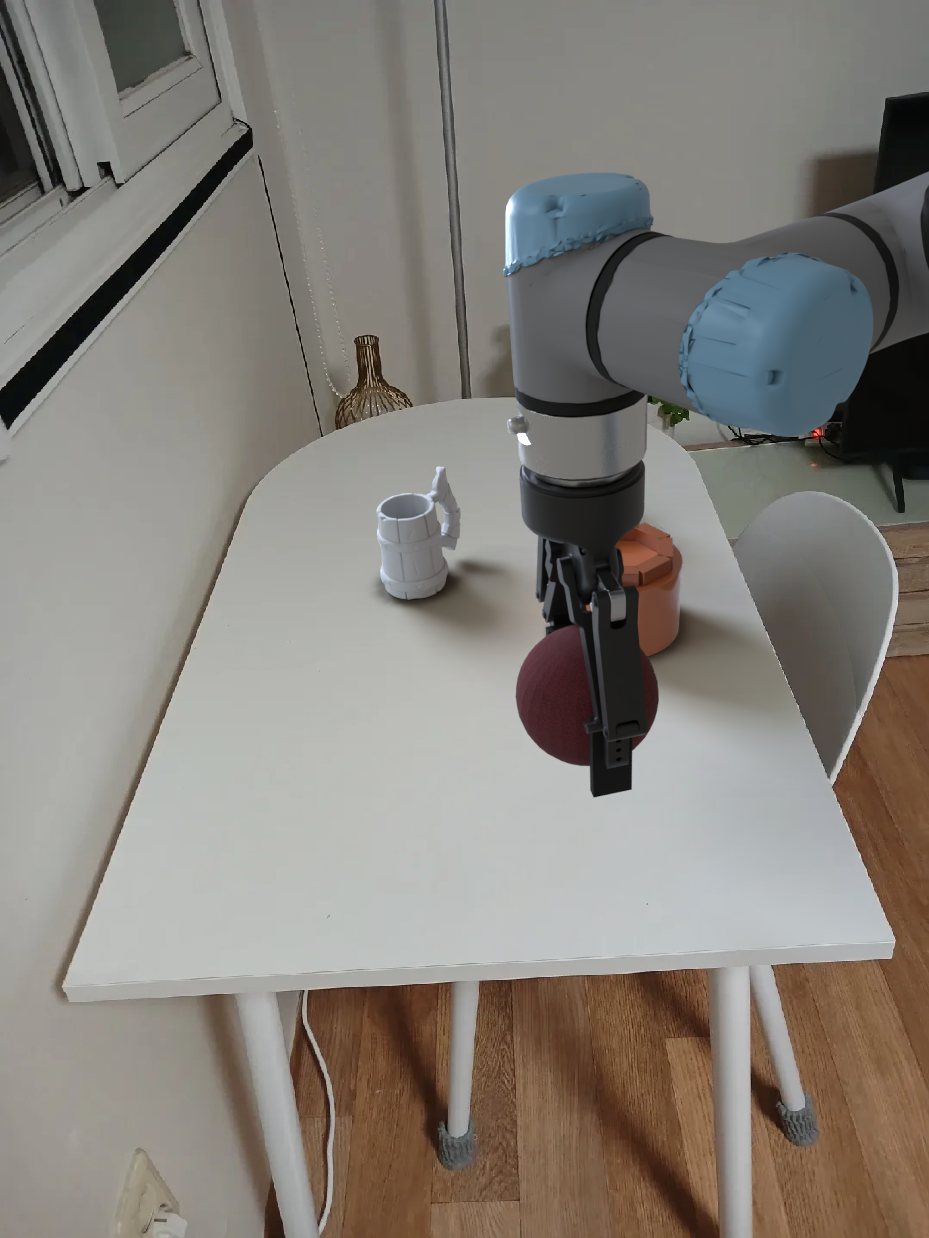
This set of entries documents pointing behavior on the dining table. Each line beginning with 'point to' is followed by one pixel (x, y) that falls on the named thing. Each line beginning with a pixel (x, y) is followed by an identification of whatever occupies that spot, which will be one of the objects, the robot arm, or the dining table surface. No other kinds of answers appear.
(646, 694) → the decorative ball
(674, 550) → the pedestal
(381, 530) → the mug
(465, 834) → the dining table surface
